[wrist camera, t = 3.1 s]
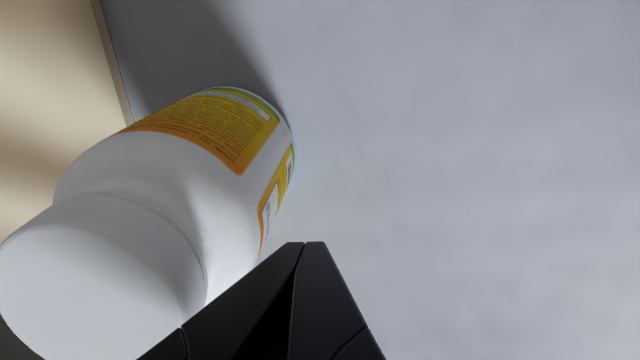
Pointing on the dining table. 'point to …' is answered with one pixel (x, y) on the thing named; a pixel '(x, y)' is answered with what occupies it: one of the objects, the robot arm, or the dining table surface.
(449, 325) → the dining table surface
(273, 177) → the supplement bottle
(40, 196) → the birch mat
